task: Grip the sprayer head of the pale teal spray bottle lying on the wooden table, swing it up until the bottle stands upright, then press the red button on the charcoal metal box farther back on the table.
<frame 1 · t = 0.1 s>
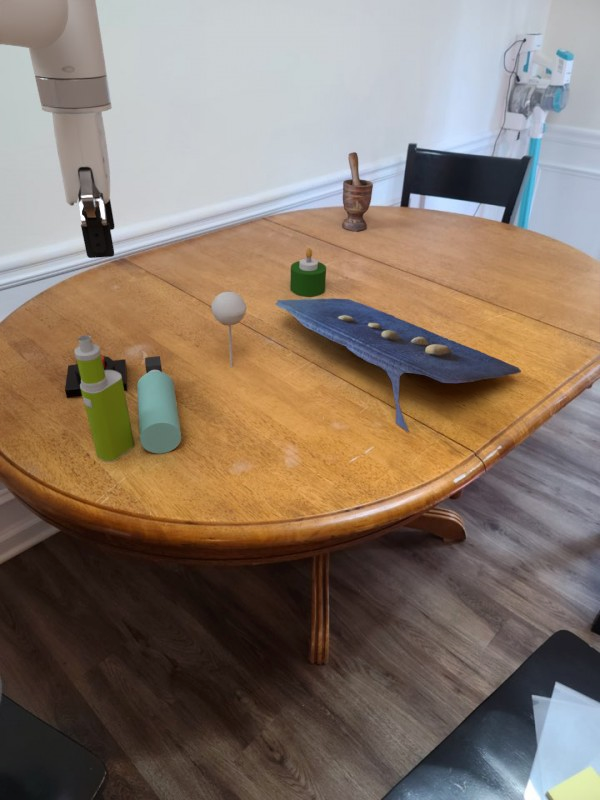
hand: (102, 242, 73), 30 cm above the table, tool pointing down, fingers open, 9 cm apart
candle: (307, 289, 134), on the table
vape: (115, 450, 86), on the table
button box: (98, 381, 101), on the table
spray bottle: (157, 399, 92), point 3 cm above the table, hinge at -90.0°
lollipop: (231, 367, 106), on the table
mortar and pestle: (351, 226, 172), on the table
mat: (382, 358, 110), on the table
button: (93, 363, 98), point 4 cm above the table, slide at 0.1 cm
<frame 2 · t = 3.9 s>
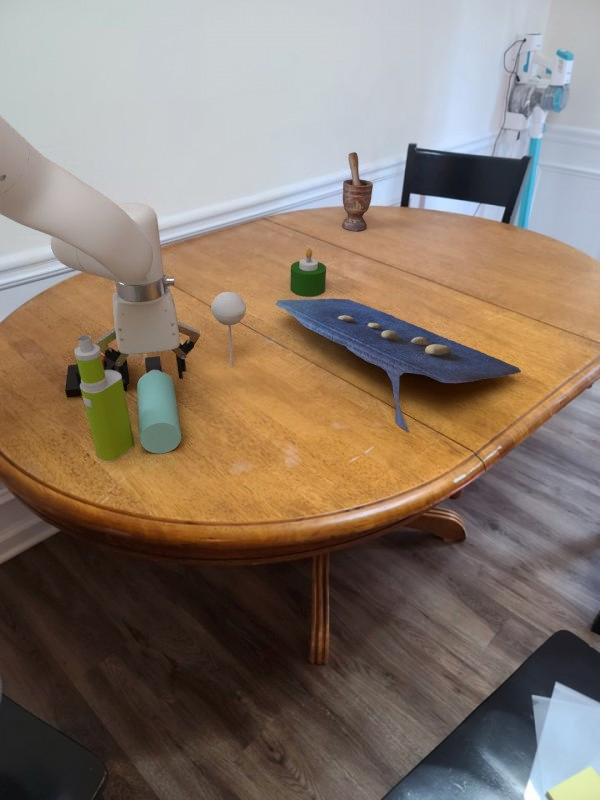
hand: (154, 377, 99), 2 cm above the table, tool pointing down, fingers open, 8 cm apart
nothing on the table moved.
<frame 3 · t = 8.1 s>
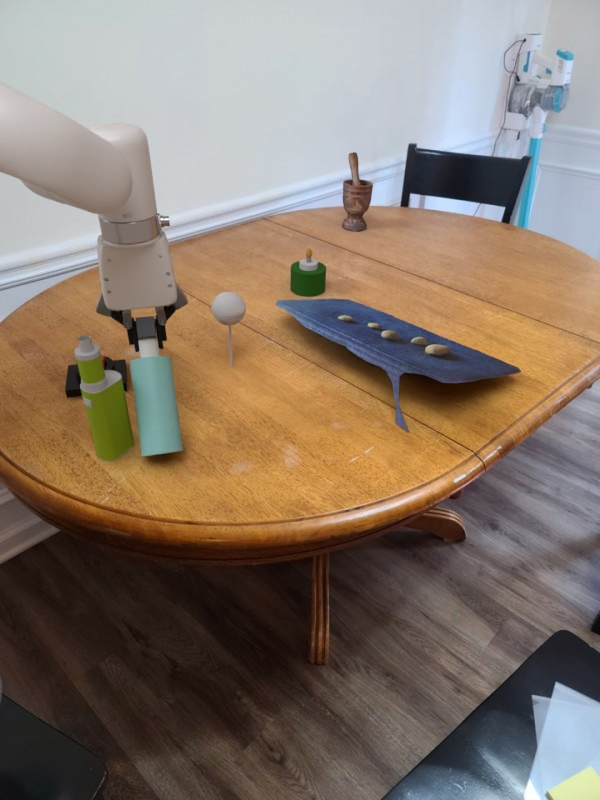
hand: (149, 345, 86), 13 cm above the table, tool pointing down, fingers closed on spray bottle, 2 cm apart
spray bottle: (153, 386, 83), point 10 cm above the table, hinge at -40.3°, touching gripper
everything else where it was.
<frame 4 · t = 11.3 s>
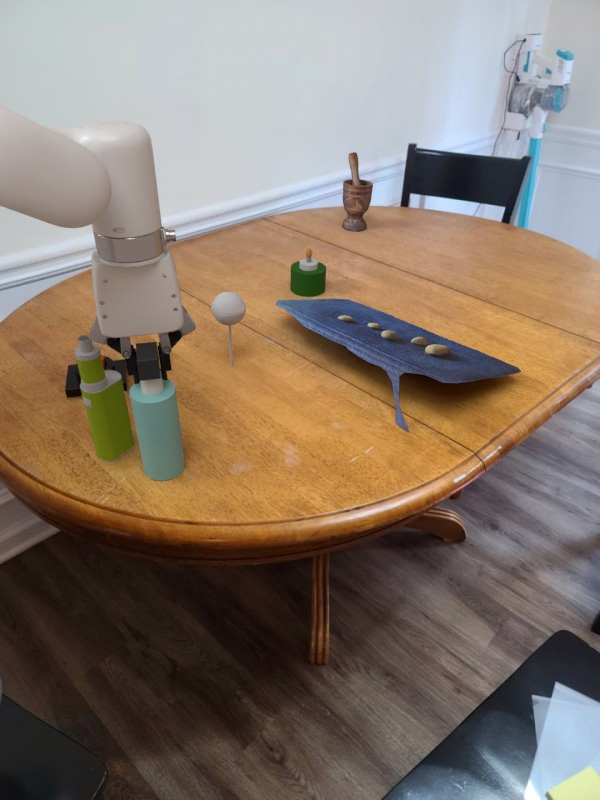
hand: (150, 375, 75), 15 cm above the table, tool pointing down, fingers open, 3 cm apart
spray bottle: (156, 413, 77), point 10 cm above the table, hinge at 0.3°
everything else where it was.
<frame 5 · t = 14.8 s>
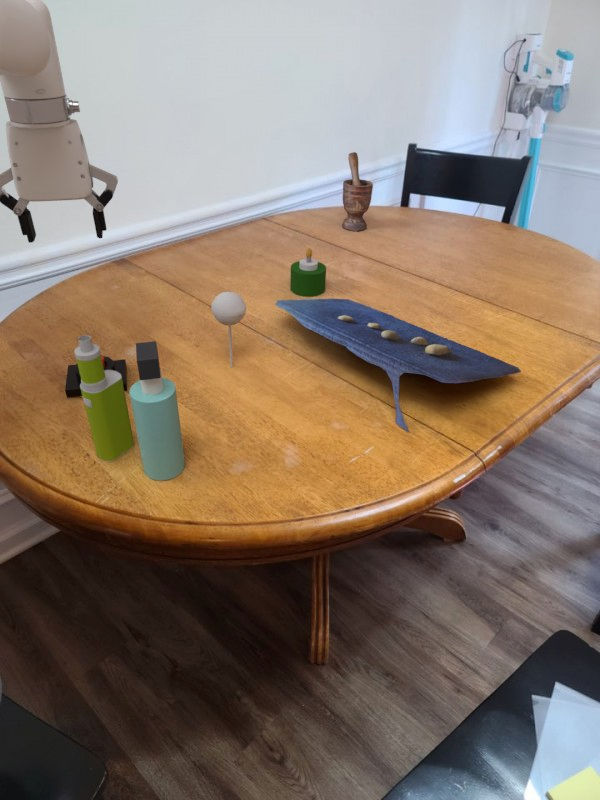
hand: (66, 237, 85), 26 cm above the table, tool pointing down, fingers open, 9 cm apart
nothing on the table moved.
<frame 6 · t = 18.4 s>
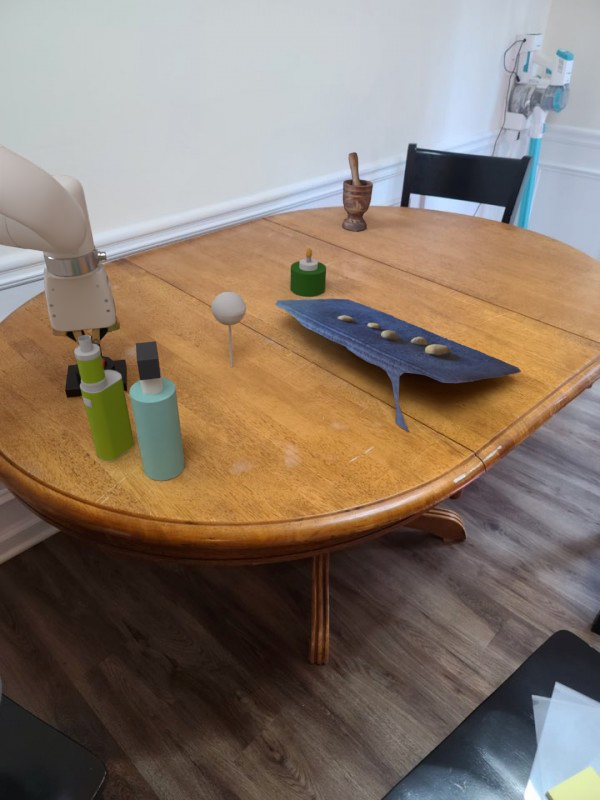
hand: (94, 361, 98), 4 cm above the table, tool pointing down, fingers closed
button: (94, 366, 99), point 3 cm above the table, slide at -0.5 cm, touching gripper
everything else where it was.
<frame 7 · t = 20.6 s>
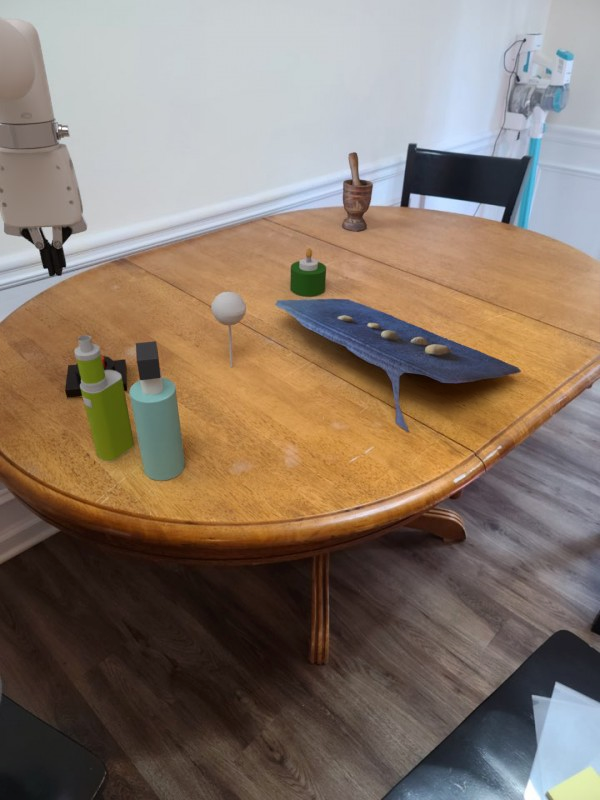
hand: (56, 272, 82), 23 cm above the table, tool pointing down, fingers closed
button: (93, 363, 98), point 4 cm above the table, slide at 0.1 cm
everything else where it was.
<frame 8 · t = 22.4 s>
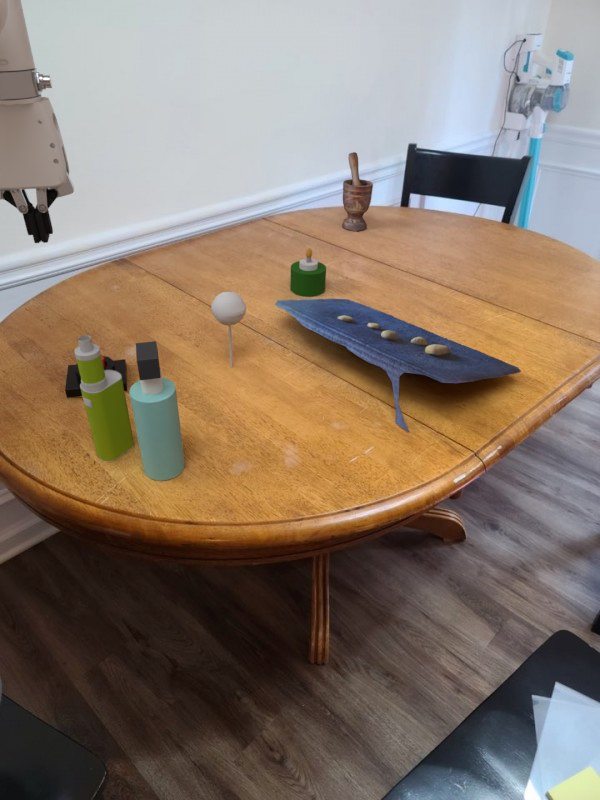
hand: (42, 239, 77), 29 cm above the table, tool pointing down, fingers closed
nothing on the table moved.
at the end: spray bottle at +0° (first picture: -90°); button pushed in 1.1 cm at the most during the clip, back to where it started at the end; button slide at 0.1 cm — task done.
